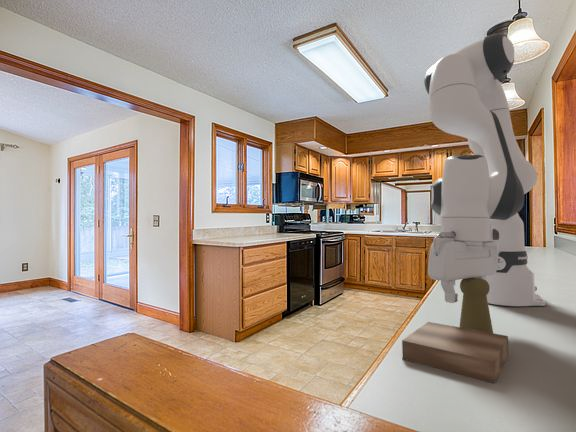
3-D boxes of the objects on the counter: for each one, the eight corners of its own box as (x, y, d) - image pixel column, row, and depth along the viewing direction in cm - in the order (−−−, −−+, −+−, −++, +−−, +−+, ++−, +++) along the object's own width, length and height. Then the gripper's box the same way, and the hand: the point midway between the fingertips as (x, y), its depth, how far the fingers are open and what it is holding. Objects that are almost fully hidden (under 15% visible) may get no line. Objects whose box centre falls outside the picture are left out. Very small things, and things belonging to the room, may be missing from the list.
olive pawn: (499, 338, 61) (497, 281, 62) (464, 337, 62) (462, 280, 63) (486, 328, 67) (484, 276, 67) (455, 327, 68) (453, 275, 69)
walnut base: (428, 337, 63) (428, 321, 63) (508, 353, 54) (507, 336, 54) (402, 358, 53) (402, 340, 53) (495, 383, 44) (494, 361, 44)
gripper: (451, 232, 58) (450, 309, 57) (504, 232, 69) (504, 297, 68) (419, 231, 63) (419, 301, 63) (474, 231, 74) (474, 291, 74)
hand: (464, 299), depth 66 cm, fingers open, 8 cm apart
